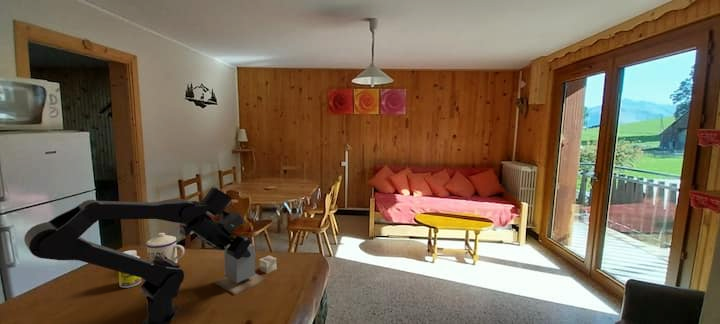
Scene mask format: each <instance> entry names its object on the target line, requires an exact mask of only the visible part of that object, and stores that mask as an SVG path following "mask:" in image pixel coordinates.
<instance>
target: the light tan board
mask: <svg viewBox="0 0 720 324" xmlns="http://www.w3.org/2000/svg"><path fill="white" fill-rule="evenodd" d="M266 280H267V278H266V277H264V276H262V275H260V274H258V273H257V272H255V275H254V276H252V277H250V278H247V279H245V280H243V281H241V282H238V283H236V282H234V281H232V280H231V279H229V278H227V277H225V276H224V277H222V278H220V279H218V280H216V281H214V284H215V285H216V286H219V287H221V289H224V290H226V291H227V292H229V293H230V294H232V295H234V296H235V295H238V294H240V293H242V292H245V291H246V290H249V289H250V288H253V287H254V286H257V285H259V284H261V283H263V282H265V281H266Z"/></svg>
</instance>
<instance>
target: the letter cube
mask: <svg viewBox="0 0 720 324" xmlns="http://www.w3.org/2000/svg"><path fill="white" fill-rule="evenodd" d="M277 268H278V267H277V258H276V257H273V256H272V255H267V256H264V257H262V258H259V271H261V272H263V273H265V274H270V273H272V272H273V271H276V270H277Z"/></svg>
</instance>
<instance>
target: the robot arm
mask: <svg viewBox="0 0 720 324" xmlns="http://www.w3.org/2000/svg"><path fill="white" fill-rule="evenodd" d="M232 201H233V198H232V197H231V195H229V194H228V193H225V192H224V191H222V190H220V189H218V188H217V187H213V186H212V187H211V188H210V189H209V190H208V192H207V194H206V195H205V197H203V199H202V200H201V202H200V201H196V200H192V201H191V200H185V199H182V198H179V197H178V198H171V199H170V198H169V199H163V200H161V201H155V202H154V201H153V202H152V201H151V202H146V201H119V200H118V201H111V200H95V199H87V200H85V201H82V202H81V203H80V204H78V205H76V206H75V207H73V208H72V209H69V210H67V211H65V212H63V213H61V214H59V215H57V216H55V217H54V218H52V219H50V220H49V221H47V222H46V221H45V222H41V223H39V224H36V225H34V226H32V227H31V228H29V229H28V230H27V232H26V233H25V235H24V239H23V241H24V244H25V245H26V247H27V249H28V250H29V252H30V253H31V254H32V255H33V256H34V257H36V258H39V259H43V260H44V259H46V260H51V261H52V260H53V261H62V262H63V261H77V262H78V261H80V262H82V263H83V262H84V263H87V264H91V265H94V266H97V267H102V268H104V269H108V270H112V271H115V272H118V271H119V272H122V273H126V274H130V275H133V276H137V277H140V278H141V279H143V280H144V281H143V282H142V284H140V286H139V288H140V289H141V292H142V293H143V294H145V295H146V309H147V312H146V313H147V316H146V318H145V319H144V320H143V322H142V323H141V324H171V322H173V319H174V318H175V317H176V315H177V313H178V311H179V310H180V306H175V305H174V304H175V303H174V301H175V300H174V298H175V297H177V296H178V293H179V290H180V287H181V284H182V283H183V281H184V279H185V273H184V270H183V269H181V265H180V264H178V263H175V262H173V261H172V260H170V259H163V258H161V257H159V256H158V255H156V256H155V258H154V260H148V259H143V258H141V257H140V258H138V257H135V256H132V255H129V254H126V253H123V252H124V251H123V252H122V251H120V250H115V249H113V248H110V247H107V246H104V245H101V244H99V243H95V242H91V241H88V240H86V239H84V238H82V237H81V236H82V235H84V234H85V232H87V230H88V229H90V228H91V227H93V225H94V224H96V223H97V222H99V221H101V220H104V221H105V220H106V221H108V220H161V221H166V222H170V223H177V224H180V225H179V227H180V229H179V234H181V235H183V236H184V237H188V236H189V235H190V233H191V232H192V233H194V234H195V235H197V236H198V237H199V238H200V239H201V242H202V243H204V245H206V246H208V247H211V248H213V249H215V250H220V251H225V250H224V247H225V248H226V247H227V245H230V246H229V247H228V249H227V254H229V255H230V256H232V257H234V258H236V259H240V258H241V257H246V258H249V257H250V256H251V254H250V252H249V250H248V249H247V248H248V247H249V245H250V244H252V239H250V237H248V236H245V235H242V234H238V235H236V236H235V237H234V234H235V233H236V231H234V230H236V229H237V228H238V227H239V226H241V225H243V224H244V223H245V219H244V217H243V216H242V214H241V213H240V212H237V211H234V210H233V211H229V212H228V211H226V209H227V207H229V205H230V204H231V203H232ZM209 215H210V216H209ZM211 216H212V217H216V216H218V217H219V221H217V220H215V219H214V218H212V217H211Z"/></svg>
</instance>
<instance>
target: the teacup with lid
mask: <svg viewBox="0 0 720 324" xmlns="http://www.w3.org/2000/svg"><path fill="white" fill-rule="evenodd" d="M177 241H178V239H177V238H176V236H174V235H167V234H166V233H165V232H159V233H158V234H157V236H155V237H153V238H151V239H149V240H148V241H147V242H146V243H145V246H146V250H147V252H146V253H147V260H154V258H155V256H156V255H158V256H159V257H161V258H163V259H170V260H172V261H173V262H175V263H176V264H178V259H181V258H182V257H183V256H184V255H185V247H184V246H183V245H181V244H177ZM177 249H180V251H181V252H180V255H178V250H177Z"/></svg>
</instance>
